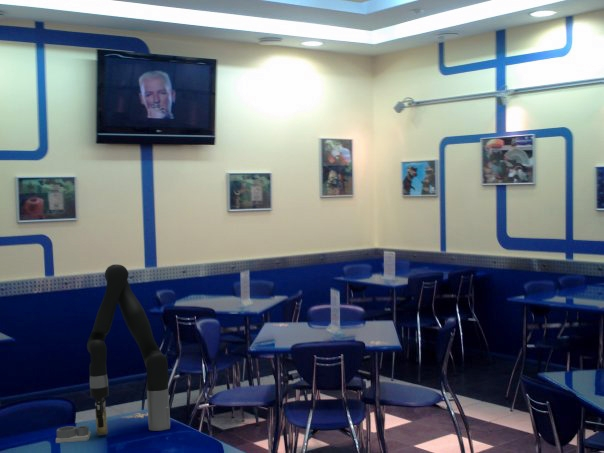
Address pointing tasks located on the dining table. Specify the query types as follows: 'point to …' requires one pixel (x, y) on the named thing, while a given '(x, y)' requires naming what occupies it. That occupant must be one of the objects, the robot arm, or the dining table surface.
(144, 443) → the dining table surface
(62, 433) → the grey mounting plate
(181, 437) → the dining table surface
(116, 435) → the dining table surface
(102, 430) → the brass cylinder
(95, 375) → the robot arm
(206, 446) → the dining table surface
